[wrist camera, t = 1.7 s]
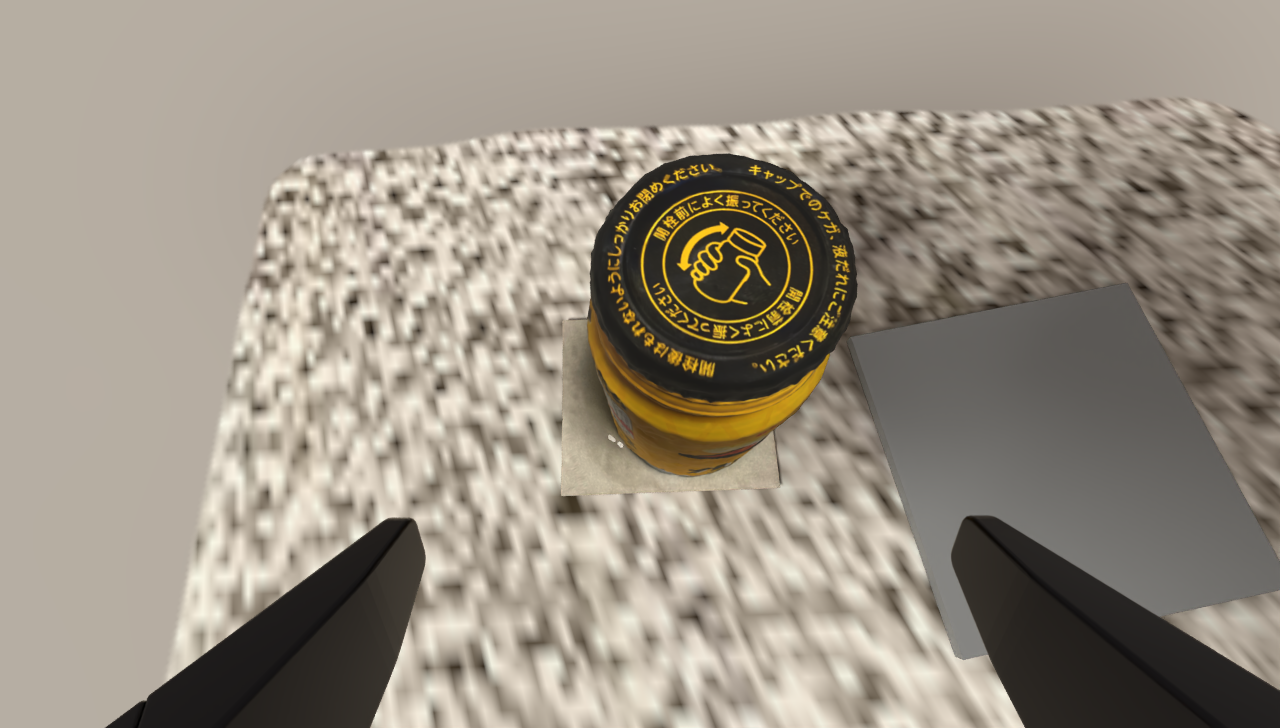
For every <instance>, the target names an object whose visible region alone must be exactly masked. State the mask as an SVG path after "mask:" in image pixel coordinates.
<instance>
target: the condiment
mask: <svg viewBox="0 0 1280 728" xmlns="http://www.w3.org/2000/svg"><path fill="white" fill-rule="evenodd" d="M856 276H857V273H856V268H855V255H854V250H853V245H852V243H851V241H850V238H849V233H848V229H847V228H846V227H844V226H843V225H842V224H841V222H840V221H839V218H838V216H837V214H836V212H835V211H834V209H833V208H832V207H831V205H830V204H829V203H828V202H827V201H826V199H825V198H824V197H823V196H821V195H820V194H818V193H817V192H816V191H815V190H814V189H813V188H812V187H810V186H809V185H808V184H807V183H805V182H803V181H801V180H800V179H799V178H798V177H797V176H796V175H795V174H794V173H792V172H791V171H789V170H786V169H783V168H780V167H778V166H776V165H773V164H771V163H768V162H764V161H760V160H754V159H751V158H748V157H745V156H739V155H733V154H712V155H700V156H688V157H685V158H682V159H679V160H676V161H672V162H669V163H664V164H663V165H661V166H659V167H658V168H656V169H655V170H653V171H651V172H649V173H647V174H645V175H644V176H643V177H642V178H641V179H640V180H639V181H638V182H637V183H635V184H634V185H633V187H632V188H631V189H630V190H629V191H628V192H627V193H626V195H625V196H624V197H623V198H622V199H621V200H619V201H618V203H617V204H616V205H615V207H614V208H613V209H612V210H610V212H609V214H608V216H607V217H606V220H605V222H604V224H603V225H602V227H601V228H600V230H599V231H598V233H597V235H596V239H595V244H594V249H593V251H592V252H591V270H590V278H591V280H590V290H591V299H590V306H589V311H588V319H582V320H565V321H563V332H562V335H563V379H562V380H563V397H562V417H563V422H562V468H561V496H575V495H601V494H621V493H654V492H684V491H711V490H737V489H762V488H780V482H779V473H778V465H777V455H776V449H775V441H774V433H773V430H774V429H775V428H776V427H778V426H779V425H781V424H782V423H783V422H784V421H785V420H787V419H788V418H789V417H791V416H792V415H793V414H795V413H796V411H797V410H799V409H800V407H801V405H802V404H803V403H804V402H805V401H806V400H807V398H808V397H809V396H810V394H811V393H812V391H813V390H814V388H815V387H816V386H817V384H818V383H819V382H820V380H821V377H822V375H823V373H824V370H825V367H826V365H827V362H828V359H829V356H830V353H831V352H832V351H834V350H835V346H836V344H837V343H838V341H839V340H840V337H841V336H842V334H843V333H844V332H845V331H846V329H847V327H848V324H849V322H850V316H851V311H852V308H853V305H854V302H855V300H856V298H857V281H856ZM609 434H610V435H611V436H613V437H614V438H615V439H616V442H612V441H611V440H609V439H608V435H609ZM619 441H621V442H622V443H623V445H624V446H623V448H620V447H619V446H618V445H617V442H619Z"/></svg>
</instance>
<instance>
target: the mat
mask: <svg viewBox="0 0 1280 728" xmlns="http://www.w3.org/2000/svg"><path fill="white" fill-rule="evenodd" d="M847 344H848V347H849V350H850V352H851V355H852V358H853V361H854V364H855V367H856V370H857V373H858V376H859V379H860V382H861V384H862V387H863V390H864V393H865V396H866V399H867V402H868V405H869V408H870V411H871V413H872V416H873V419H874V422H875V425H876V428H877V431H878V434H879V437H880V440H881V443H882V445H883V448H884V451H885V454H886V457H887V460H888V463H889V466H890V469H891V472H892V474H893V477H894V480H895V483H896V486H897V489H898V492H899V495H900V498H901V501H902V504H903V506H904V509H905V512H906V515H907V518H908V521H909V524H910V527H911V530H912V533H913V535H914V538H915V541H916V544H917V547H918V550H919V553H920V556H921V559H922V562H923V564H924V567H925V570H926V573H927V576H928V579H929V582H930V585H931V588H932V591H933V594H934V596H935V599H936V602H937V605H938V608H939V611H940V614H941V617H942V620H943V623H944V625H945V628H946V631H947V634H948V637H949V640H950V643H951V646H952V649H953V652H954V655H955V657H958V658H960V659H962V660H965V659H970V658H974V657H979V656H983V655H988V653H987V651H986V648H985V646H984V644H983V641H982V639H981V636H980V634H979V631H978V629H977V626H976V624H975V621H974V619H973V616H972V614H971V611H970V609H969V606H968V604H967V602H966V599H965V597H964V594H963V592H962V589H961V587H960V584H959V582H958V579H957V577H956V574H955V572H954V569H953V566H952V562H951V550H952V547H953V544H954V542H955V539H956V536H957V533H958V530H959V528H960V525H961V522H962V520H963V519H964V518H965V517H966V516H970V515H990V516H994V517H997V518H998V519H1000V520H1002V521H1003V522H1005V523H1007V524H1008V525H1010V526H1012V527H1013V528H1015V529H1017V530H1018V531H1020V532H1021V533H1023V534H1025V535H1026V536H1028V537H1030V538H1031V539H1033V540H1035V541H1036V542H1038V543H1039V544H1041V545H1043V546H1044V547H1046V548H1048V549H1049V550H1051V551H1053V552H1054V553H1056V554H1057V555H1059V556H1061V557H1062V558H1064V559H1066V560H1067V561H1069V562H1071V563H1072V564H1074V565H1075V566H1077V567H1079V568H1080V569H1082V570H1084V571H1085V572H1087V573H1089V574H1090V575H1092V576H1093V577H1095V578H1097V579H1098V580H1100V581H1102V582H1103V583H1105V584H1106V585H1108V586H1110V587H1111V588H1113V589H1115V590H1116V591H1118V592H1120V593H1121V594H1123V595H1124V596H1126V597H1128V598H1129V599H1131V600H1133V601H1134V602H1136V603H1138V604H1139V605H1141V606H1142V607H1144V608H1146V609H1147V610H1149V611H1151V612H1152V613H1154V614H1156V615H1157V616H1159V617H1160V616H1164V615H1169V614H1173V613H1178V612H1183V611H1187V610H1192V609H1196V608H1201V607H1205V606H1210V605H1214V604H1219V603H1223V602H1228V601H1232V600H1237V599H1241V598H1246V597H1251V596H1255V595H1260V594H1264V593H1269V592H1273V591H1278V590H1280V561H1279V559H1278V558H1277V556H1276V554H1275V552H1274V550H1273V548H1272V547H1271V545H1270V543H1269V541H1268V539H1267V537H1266V536H1265V534H1264V532H1263V530H1262V528H1261V526H1260V525H1259V523H1258V521H1257V519H1256V517H1255V515H1254V514H1253V512H1252V510H1251V508H1250V506H1249V505H1248V503H1247V501H1246V499H1245V497H1244V495H1243V494H1242V492H1241V490H1240V488H1239V486H1238V484H1237V483H1236V481H1235V479H1234V477H1233V475H1232V473H1231V472H1230V470H1229V468H1228V466H1227V464H1226V463H1225V461H1224V459H1223V457H1222V455H1221V453H1220V452H1219V450H1218V448H1217V446H1216V444H1215V442H1214V441H1213V439H1212V437H1211V435H1210V433H1209V431H1208V430H1207V428H1206V426H1205V424H1204V422H1203V420H1202V419H1201V417H1200V415H1199V413H1198V411H1197V410H1196V408H1195V406H1194V404H1193V402H1192V400H1191V399H1190V397H1189V395H1188V393H1187V391H1186V389H1185V388H1184V386H1183V384H1182V382H1181V380H1180V378H1179V377H1178V375H1177V373H1176V371H1175V369H1174V368H1173V366H1172V364H1171V362H1170V360H1169V358H1168V357H1167V355H1166V353H1165V351H1164V349H1163V347H1162V346H1161V344H1160V342H1159V340H1158V338H1157V336H1156V335H1155V333H1154V331H1153V329H1152V327H1151V325H1150V324H1149V322H1148V320H1147V318H1146V316H1145V315H1144V313H1143V311H1142V309H1141V307H1140V305H1139V304H1138V302H1137V300H1136V298H1135V296H1134V294H1133V293H1132V291H1131V289H1130V287H1129V285H1128V283H1123V284H1118V285H1113V286H1108V287H1103V288H1098V289H1092V290H1087V291H1082V292H1077V293H1072V294H1067V295H1062V296H1057V297H1052V298H1047V299H1042V300H1036V301H1031V302H1026V303H1021V304H1016V305H1011V306H1006V307H1001V308H996V309H991V310H985V311H980V312H975V313H970V314H965V315H960V316H955V317H950V318H945V319H940V320H935V321H929V322H924V323H919V324H914V325H909V326H904V327H899V328H894V329H889V330H884V331H879V332H873V333H868V334H863V335H858V336H853V337H850V338H849V339H848V340H847Z"/></svg>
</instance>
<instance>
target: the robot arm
mask: <svg viewBox="0 0 1280 728" xmlns="http://www.w3.org/2000/svg"><path fill="white" fill-rule="evenodd" d="M425 559H426V556H425V550H424V547H423V543H422V540H421V537H420V533H419V530H418V526H417V524H416V521H415V520H414V519H412V518H388V519H386V520H384V521H383V522H381V523H380V524H379V525H377V526H376V527H375V528H373V529H372V530H371V531H369V532H368V533H367V534H365V535H364V536H362V537H361V538H360V539H358V540H357V541H356V542H354V543H353V544H352V545H350V546H349V547H348V548H346V549H345V550H344V551H342V552H341V553H340V554H338V555H337V556H336V557H334V558H333V559H332V560H330V561H329V562H328V563H326V564H325V565H323V566H322V567H321V568H319V569H318V570H317V571H315V572H314V573H313V574H311V575H310V576H309V577H307V578H306V579H305V580H303V581H302V582H301V583H299V584H298V585H297V586H295V587H294V588H293V589H291V590H290V591H289V592H287V593H286V594H284V595H283V596H282V597H280V598H279V599H278V600H276V601H275V602H274V603H272V604H271V605H270V606H268V607H267V608H266V609H264V610H263V611H262V612H260V613H259V614H258V615H256V616H255V617H254V618H252V619H251V620H250V621H248V622H247V623H245V624H244V625H243V626H241V627H240V628H239V629H237V630H236V631H235V632H233V633H232V634H231V635H229V636H228V637H227V638H225V639H224V640H223V641H221V642H220V643H219V644H217V645H216V646H215V647H213V648H212V649H211V650H209V651H208V652H207V653H205V654H204V655H202V656H201V657H200V658H198V659H197V660H196V661H194V662H193V663H192V664H190V665H189V666H188V667H186V668H185V669H184V670H182V671H181V672H180V673H178V674H177V675H176V676H174V677H173V678H172V679H170V680H169V681H167V682H166V683H165V684H163V685H162V686H161V687H159V688H158V689H157V690H155V691H154V692H153V693H151V694H150V695H149V696H148V698H147V701H141V702H139V703H138V704H136V705H135V706H134V707H132V708H131V709H130V710H128V711H127V712H126V713H124V714H123V715H121V716H120V717H119V718H117V719H116V720H115V721H114V722H112V723H111V724H110V725H108V726H107V727H106V728H370V726H371V724H372V722H373V719H374V717H375V714H376V712H377V709H378V707H379V704H380V702H381V699H382V697H383V694H384V692H385V689H386V687H387V684H388V682H389V680H390V677H391V674H392V672H393V669H394V667H395V664H396V661H397V658H398V655H399V652H400V649H401V646H402V643H403V639H404V636H405V632H406V629H407V626H408V622H409V619H410V615H411V612H412V608H413V605H414V602H415V598H416V595H417V591H418V588H419V584H420V581H421V578H422V574H423V571H424V567H425ZM951 562H952V566H953V569H954V572H955V574H956V577H957V579H958V582H959V584H960V587H961V589H962V592H963V594H964V597H965V599H966V602H967V604H968V606H969V609H970V611H971V614H972V616H973V619H974V621H975V624H976V626H977V629H978V631H979V634H980V636H981V639H982V641H983V644H984V646H985V648H986V651H987V653H988V655H989V658H990V660H991V662H992V664H993V666H994V668H995V670H996V672H997V674H998V676H999V678H1000V680H1001V682H1002V684H1003V686H1004V688H1005V690H1006V692H1007V694H1008V696H1009V698H1010V700H1011V701H1012V703H1013V705H1014V707H1015V709H1016V711H1017V713H1018V715H1019V717H1020V719H1021V721H1022V723H1023V725H1024V727H1025V728H1280V690H1278V689H1277V688H1275V687H1273V686H1272V685H1270V684H1268V683H1267V682H1265V681H1263V680H1262V679H1260V678H1259V677H1257V676H1255V675H1254V674H1252V673H1250V672H1249V671H1247V670H1245V669H1244V668H1242V667H1241V666H1239V665H1237V664H1236V663H1234V662H1232V661H1231V660H1229V659H1227V658H1226V657H1224V656H1223V655H1221V654H1219V653H1218V652H1216V651H1214V650H1213V649H1211V648H1210V647H1208V646H1206V645H1205V644H1203V643H1201V642H1200V641H1198V640H1196V639H1195V638H1193V637H1192V636H1190V635H1188V634H1187V633H1185V632H1183V631H1182V630H1180V629H1178V628H1177V627H1175V626H1174V625H1172V624H1170V623H1169V622H1167V621H1165V620H1164V619H1162V618H1160V617H1159V616H1157V615H1156V614H1154V613H1152V612H1151V611H1149V610H1147V609H1146V608H1144V607H1142V606H1141V605H1139V604H1138V603H1136V602H1134V601H1133V600H1131V599H1129V598H1128V597H1126V596H1124V595H1123V594H1121V593H1120V592H1118V591H1116V590H1115V589H1113V588H1111V587H1110V586H1108V585H1106V584H1105V583H1103V582H1102V581H1100V580H1098V579H1097V578H1095V577H1093V576H1092V575H1090V574H1089V573H1087V572H1085V571H1084V570H1082V569H1080V568H1079V567H1077V566H1075V565H1074V564H1072V563H1071V562H1069V561H1067V560H1066V559H1064V558H1062V557H1061V556H1059V555H1057V554H1056V553H1054V552H1053V551H1051V550H1049V549H1048V548H1046V547H1044V546H1043V545H1041V544H1039V543H1038V542H1036V541H1035V540H1033V539H1031V538H1030V537H1028V536H1026V535H1025V534H1023V533H1021V532H1020V531H1018V530H1017V529H1015V528H1013V527H1012V526H1010V525H1008V524H1007V523H1005V522H1003V521H1002V520H1000V519H998V518H997V517H994V516H990V515H970V516H966V517H965V518H964V519H963V520H962V522H961V525H960V528H959V530H958V533H957V536H956V539H955V542H954V544H953V547H952V550H951Z"/></svg>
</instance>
